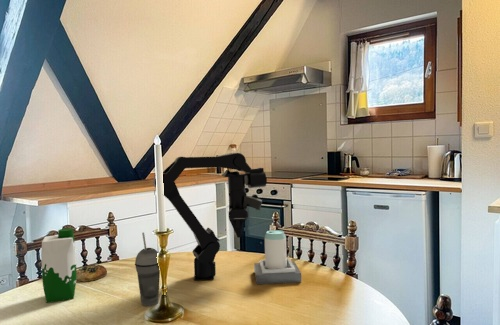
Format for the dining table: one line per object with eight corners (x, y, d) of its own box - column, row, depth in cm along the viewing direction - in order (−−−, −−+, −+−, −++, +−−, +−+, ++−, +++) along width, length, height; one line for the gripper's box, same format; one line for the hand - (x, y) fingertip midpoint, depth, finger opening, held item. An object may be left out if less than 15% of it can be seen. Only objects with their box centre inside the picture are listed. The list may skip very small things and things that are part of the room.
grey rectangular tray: (257, 284, 116) (256, 271, 116) (254, 271, 128) (254, 259, 127) (301, 282, 116) (301, 269, 116) (294, 269, 128) (294, 257, 128)
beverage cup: (156, 309, 100) (153, 235, 99) (131, 307, 101) (128, 235, 100) (167, 298, 107) (164, 229, 106) (144, 297, 108) (141, 229, 108)
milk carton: (77, 299, 108) (73, 231, 108) (41, 305, 105) (38, 235, 104) (78, 289, 116) (75, 226, 116) (45, 294, 113) (42, 229, 112)
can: (267, 272, 118) (266, 234, 118) (263, 265, 125) (262, 230, 125) (288, 270, 119) (287, 233, 118) (284, 263, 126) (283, 228, 125)
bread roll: (112, 270, 134) (110, 257, 133) (100, 286, 123) (98, 272, 122) (81, 272, 133) (79, 259, 133) (67, 288, 123) (64, 274, 122)
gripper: (262, 191, 118) (264, 239, 119) (258, 185, 137) (260, 227, 137) (227, 193, 118) (229, 241, 118) (228, 186, 136) (230, 228, 137)
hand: (238, 234), depth 128 cm, fingers open, 9 cm apart
